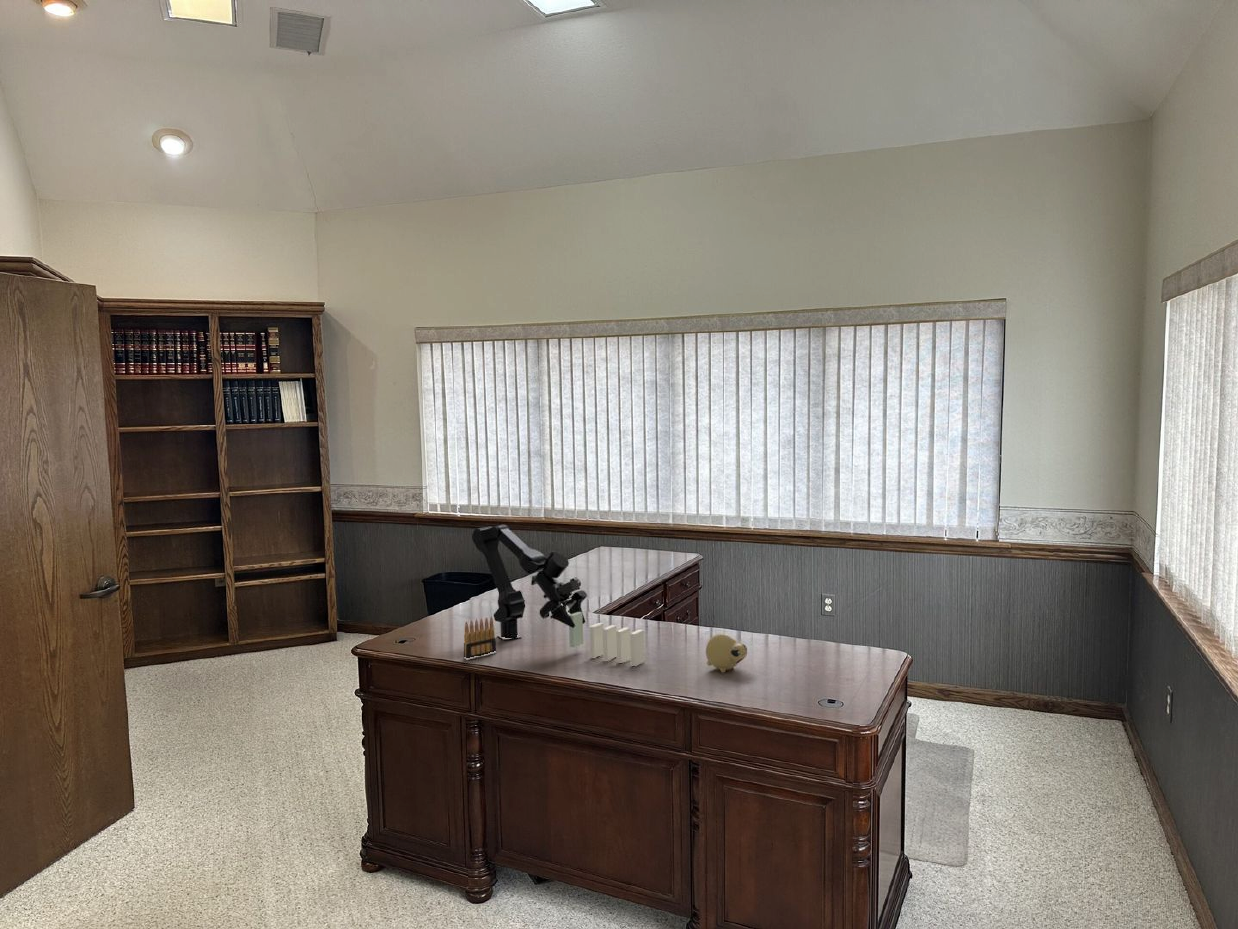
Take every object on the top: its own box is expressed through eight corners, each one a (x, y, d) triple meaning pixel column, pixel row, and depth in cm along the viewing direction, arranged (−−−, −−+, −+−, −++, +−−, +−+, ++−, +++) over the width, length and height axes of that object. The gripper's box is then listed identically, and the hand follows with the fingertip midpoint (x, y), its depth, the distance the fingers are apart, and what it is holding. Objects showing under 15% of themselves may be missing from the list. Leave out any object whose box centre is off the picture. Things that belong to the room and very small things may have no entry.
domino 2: (590, 658, 267) (589, 626, 266) (599, 654, 271) (598, 622, 270) (594, 659, 266) (593, 627, 265) (603, 654, 270) (603, 623, 269)
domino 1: (569, 646, 271) (568, 615, 270) (579, 642, 275) (578, 611, 274) (573, 647, 270) (572, 616, 269) (583, 643, 274) (582, 612, 273)
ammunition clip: (466, 660, 267) (465, 622, 266) (463, 659, 269) (462, 621, 268) (496, 653, 274) (495, 616, 273) (493, 652, 275) (492, 615, 274)
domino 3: (603, 661, 264) (602, 628, 263) (612, 656, 268) (612, 625, 267) (607, 661, 263) (607, 629, 262) (616, 657, 267) (616, 625, 266)
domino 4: (616, 663, 261) (616, 631, 260) (626, 659, 265) (625, 627, 264) (621, 664, 260) (620, 631, 259) (630, 660, 264) (629, 628, 263)
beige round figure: (735, 678, 245) (735, 642, 244) (699, 671, 253) (699, 635, 252) (752, 669, 253) (752, 634, 252) (717, 662, 260) (717, 627, 260)
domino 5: (630, 666, 258) (630, 633, 257) (639, 661, 262) (639, 629, 262) (635, 667, 257) (634, 634, 257) (644, 662, 262) (643, 630, 261)
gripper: (545, 576, 265) (575, 616, 260) (581, 565, 281) (610, 602, 275) (526, 598, 270) (555, 638, 265) (563, 587, 286) (591, 624, 280)
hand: (579, 625), depth 271 cm, fingers closed on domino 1, 5 cm apart
